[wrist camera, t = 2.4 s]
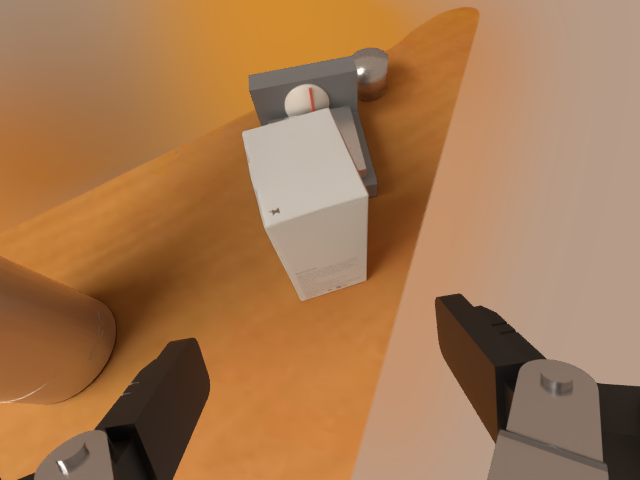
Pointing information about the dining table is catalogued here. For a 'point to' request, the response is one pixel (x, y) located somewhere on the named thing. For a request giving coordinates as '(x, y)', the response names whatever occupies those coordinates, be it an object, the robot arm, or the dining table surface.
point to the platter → (345, 135)
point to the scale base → (312, 97)
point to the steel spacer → (371, 73)
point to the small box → (311, 201)
